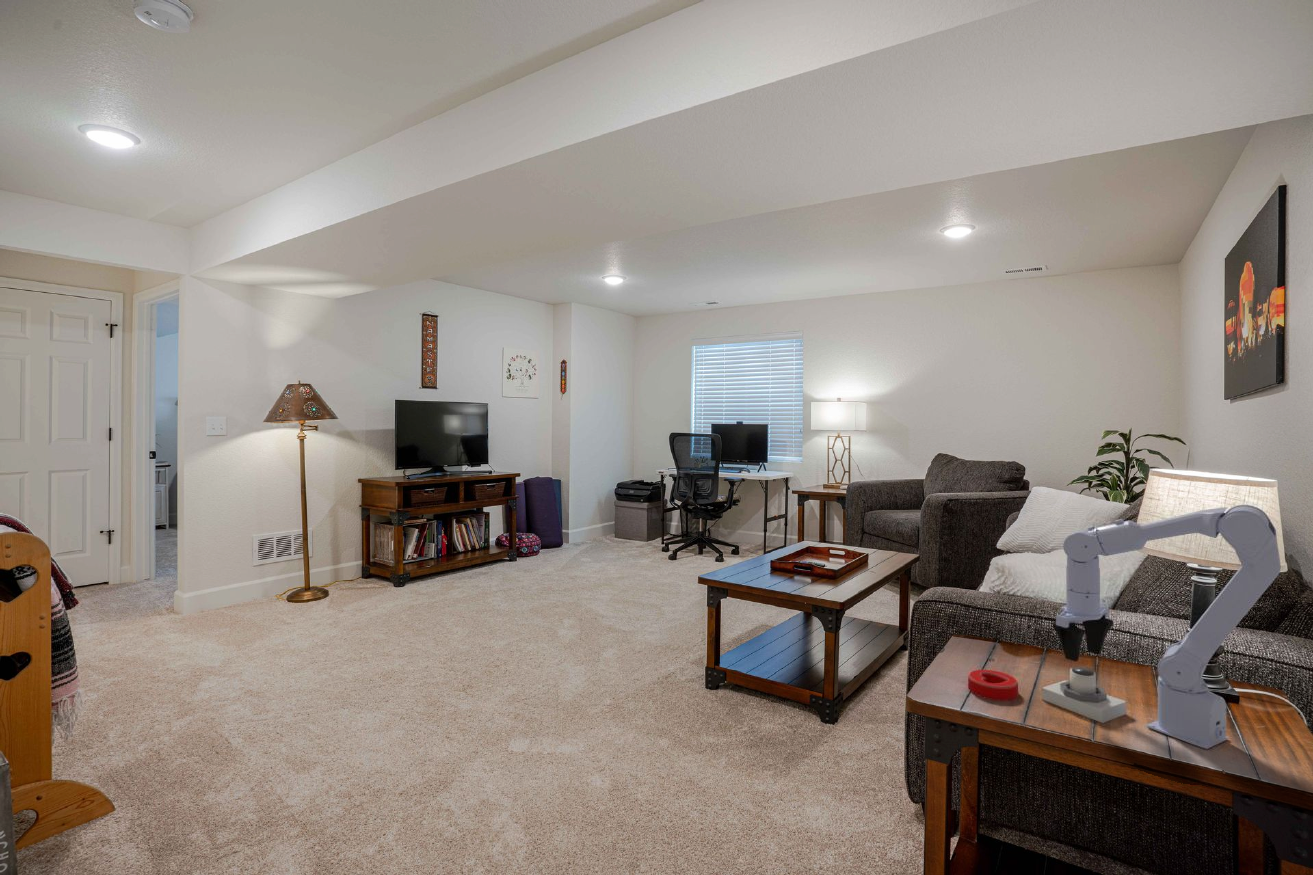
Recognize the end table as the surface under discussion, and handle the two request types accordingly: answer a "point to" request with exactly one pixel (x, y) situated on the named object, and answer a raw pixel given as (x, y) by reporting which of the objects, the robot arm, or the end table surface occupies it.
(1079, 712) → the plate with octagonal ring
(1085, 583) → the robot arm
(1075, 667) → the lens
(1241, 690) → the end table surface
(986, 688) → the decorative ornament
